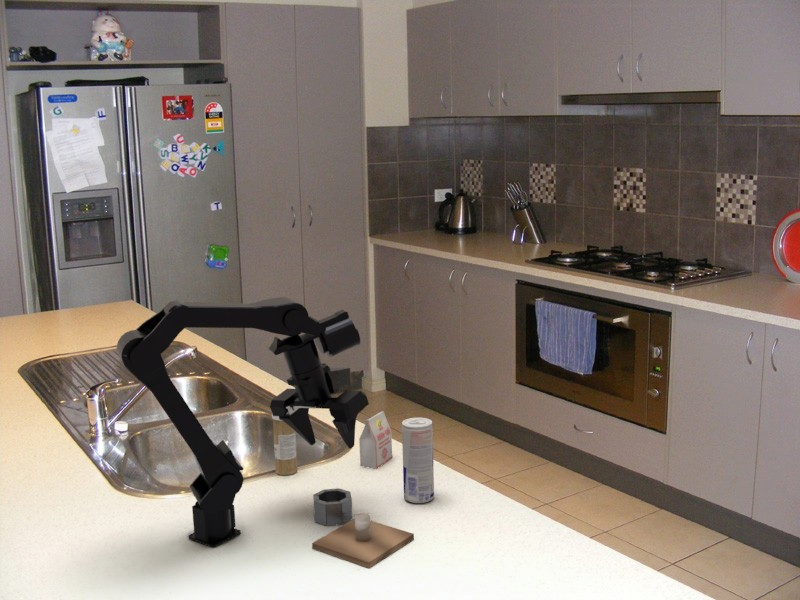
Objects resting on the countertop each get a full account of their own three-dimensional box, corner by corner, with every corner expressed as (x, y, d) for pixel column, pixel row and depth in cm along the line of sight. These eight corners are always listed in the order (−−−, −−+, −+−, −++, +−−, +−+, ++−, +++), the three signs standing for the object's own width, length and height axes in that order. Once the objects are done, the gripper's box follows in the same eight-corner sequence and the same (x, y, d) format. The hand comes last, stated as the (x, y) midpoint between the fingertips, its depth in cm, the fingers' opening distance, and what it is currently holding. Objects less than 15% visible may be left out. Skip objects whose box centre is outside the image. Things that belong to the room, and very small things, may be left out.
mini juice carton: (360, 466, 186) (358, 419, 184) (376, 455, 192) (375, 409, 190) (376, 469, 184) (374, 422, 182) (392, 458, 190) (390, 412, 188)
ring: (335, 528, 158) (334, 507, 157) (306, 519, 162) (305, 498, 161) (359, 515, 163) (358, 494, 162) (331, 506, 167) (330, 486, 166)
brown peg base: (368, 568, 144) (367, 538, 143) (312, 548, 151) (310, 520, 150) (413, 539, 153) (413, 511, 152) (358, 522, 160) (357, 495, 159)
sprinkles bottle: (275, 468, 186) (271, 405, 184) (298, 466, 187) (294, 403, 184) (274, 476, 182) (271, 412, 179) (297, 475, 182) (294, 410, 179)
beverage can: (440, 497, 170) (438, 420, 167) (420, 507, 166) (418, 428, 163) (417, 490, 173) (416, 414, 170) (397, 499, 169) (395, 422, 166)
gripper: (373, 346, 158) (398, 425, 163) (296, 346, 170) (321, 420, 174) (334, 376, 150) (362, 458, 155) (256, 374, 161) (283, 451, 166)
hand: (332, 445), depth 163 cm, fingers open, 9 cm apart
